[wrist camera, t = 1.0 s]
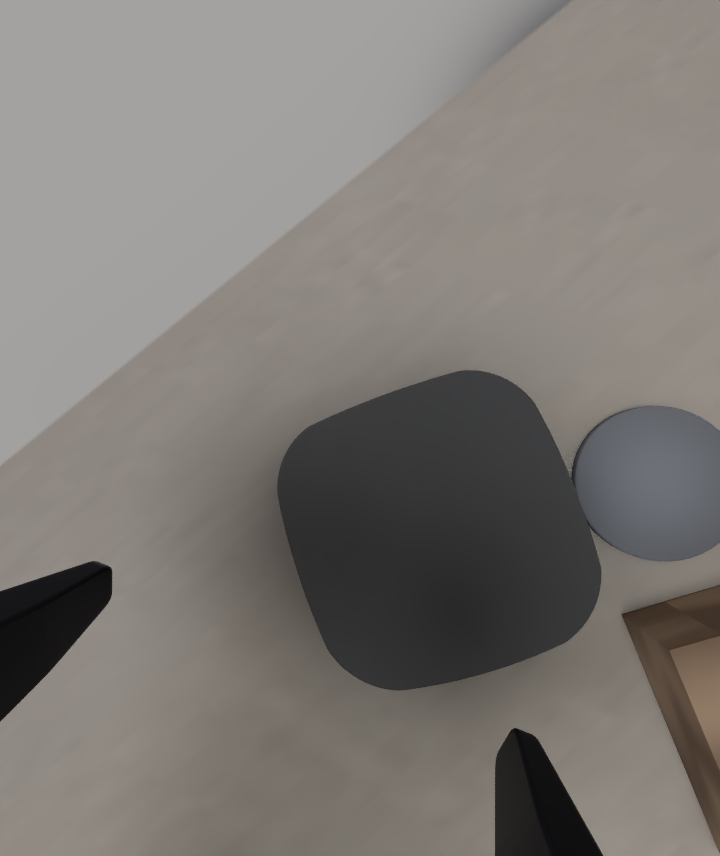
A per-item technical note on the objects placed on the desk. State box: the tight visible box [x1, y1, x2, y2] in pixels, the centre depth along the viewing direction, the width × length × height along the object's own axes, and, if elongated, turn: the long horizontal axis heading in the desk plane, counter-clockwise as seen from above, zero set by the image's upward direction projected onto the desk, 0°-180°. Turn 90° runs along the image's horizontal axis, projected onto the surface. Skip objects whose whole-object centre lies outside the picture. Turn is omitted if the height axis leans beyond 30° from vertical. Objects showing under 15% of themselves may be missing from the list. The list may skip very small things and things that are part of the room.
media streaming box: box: [277, 371, 601, 690], centre depth 20 cm, size 15×15×3 cm
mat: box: [572, 406, 720, 561], centre depth 19 cm, size 8×8×1 cm
